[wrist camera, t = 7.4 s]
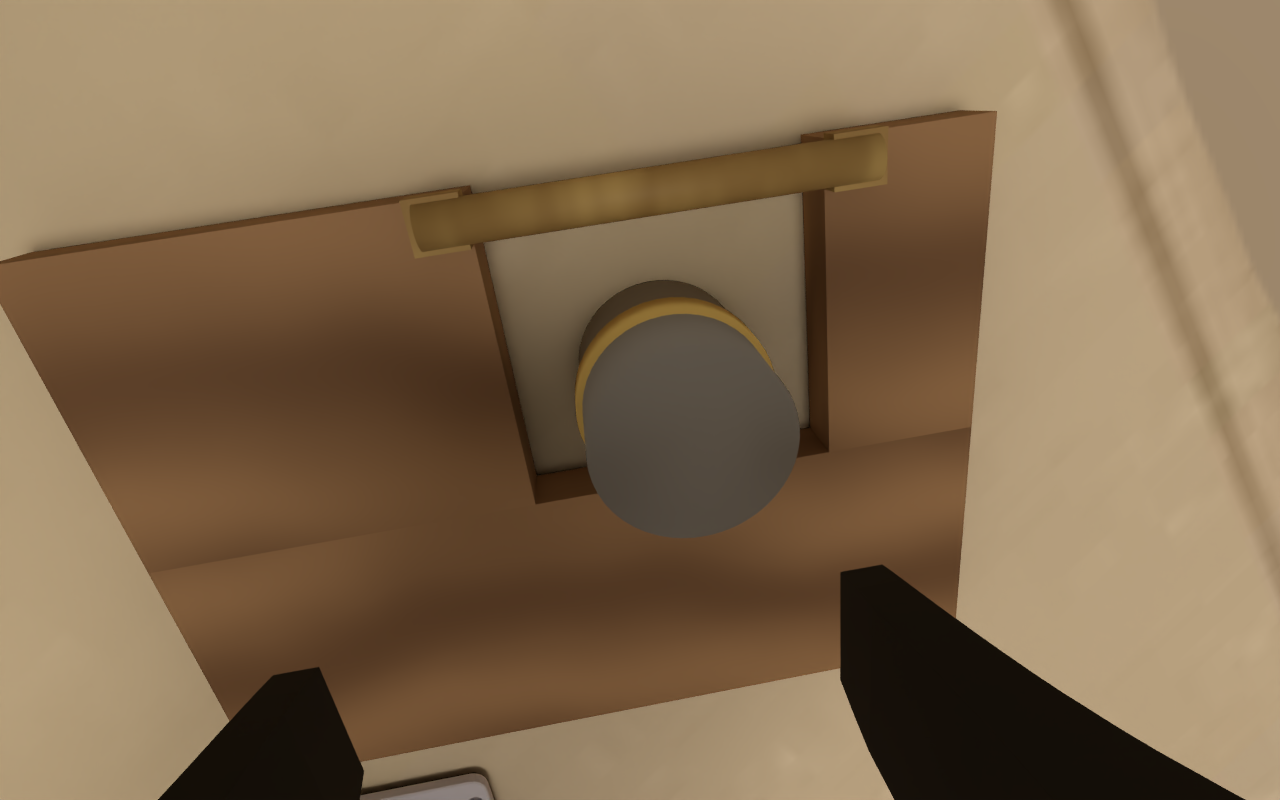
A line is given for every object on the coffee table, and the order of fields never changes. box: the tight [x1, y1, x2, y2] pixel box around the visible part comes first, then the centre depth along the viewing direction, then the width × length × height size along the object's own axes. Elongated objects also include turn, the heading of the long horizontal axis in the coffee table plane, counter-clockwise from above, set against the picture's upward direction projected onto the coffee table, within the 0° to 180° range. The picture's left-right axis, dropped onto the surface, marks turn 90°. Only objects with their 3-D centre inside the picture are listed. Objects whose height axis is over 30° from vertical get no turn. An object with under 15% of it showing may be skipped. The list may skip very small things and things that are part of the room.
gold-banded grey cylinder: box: [575, 280, 800, 538], centre depth 16 cm, size 5×5×5 cm
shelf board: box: [0, 110, 997, 762], centre depth 18 cm, size 16×22×2 cm
